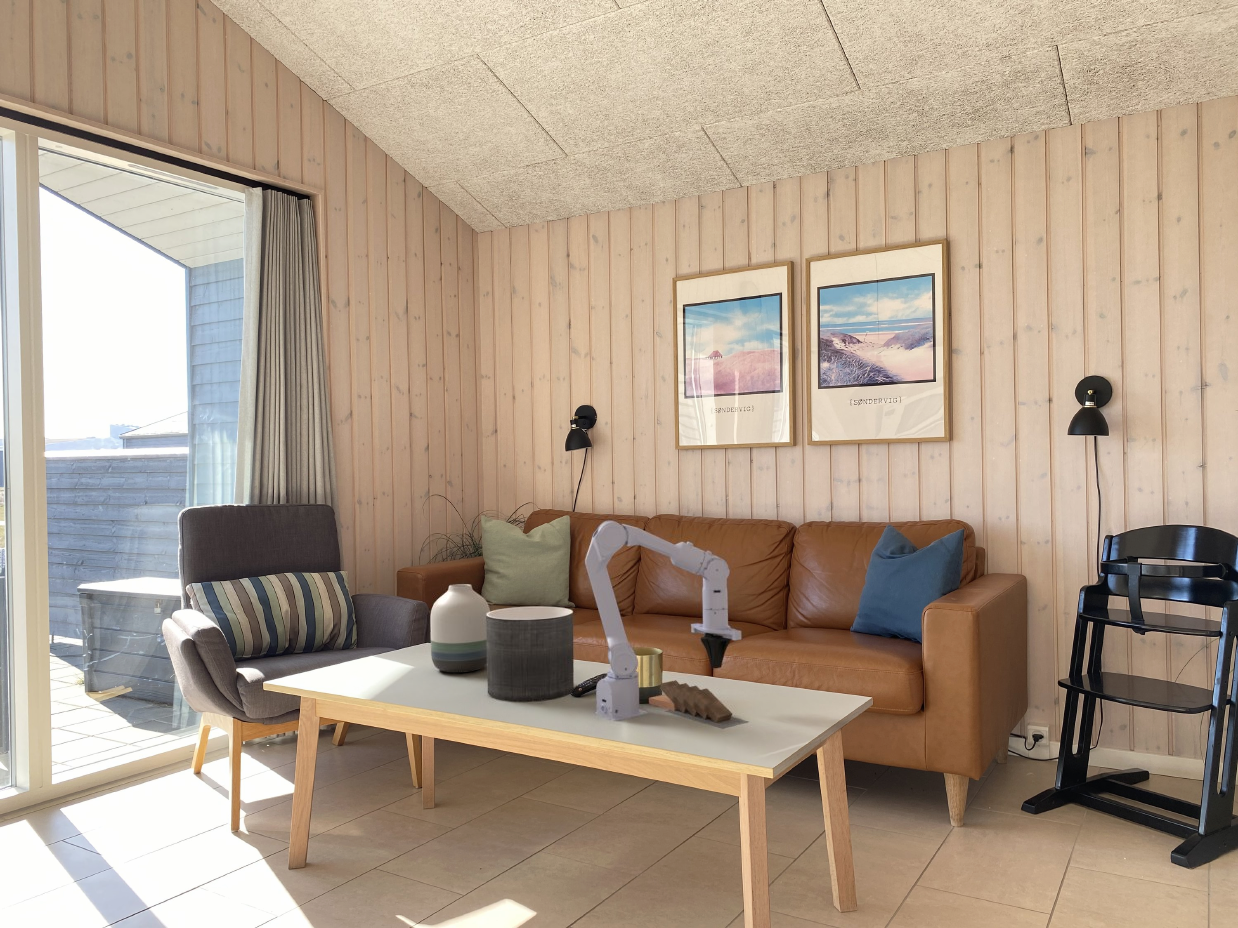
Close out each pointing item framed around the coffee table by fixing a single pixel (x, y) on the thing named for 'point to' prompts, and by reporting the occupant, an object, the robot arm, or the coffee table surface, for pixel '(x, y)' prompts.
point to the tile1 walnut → (711, 705)
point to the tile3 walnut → (676, 692)
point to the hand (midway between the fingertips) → (716, 667)
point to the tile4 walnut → (666, 689)
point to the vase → (459, 630)
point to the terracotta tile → (663, 702)
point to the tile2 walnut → (687, 694)
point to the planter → (530, 653)
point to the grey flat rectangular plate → (699, 718)
